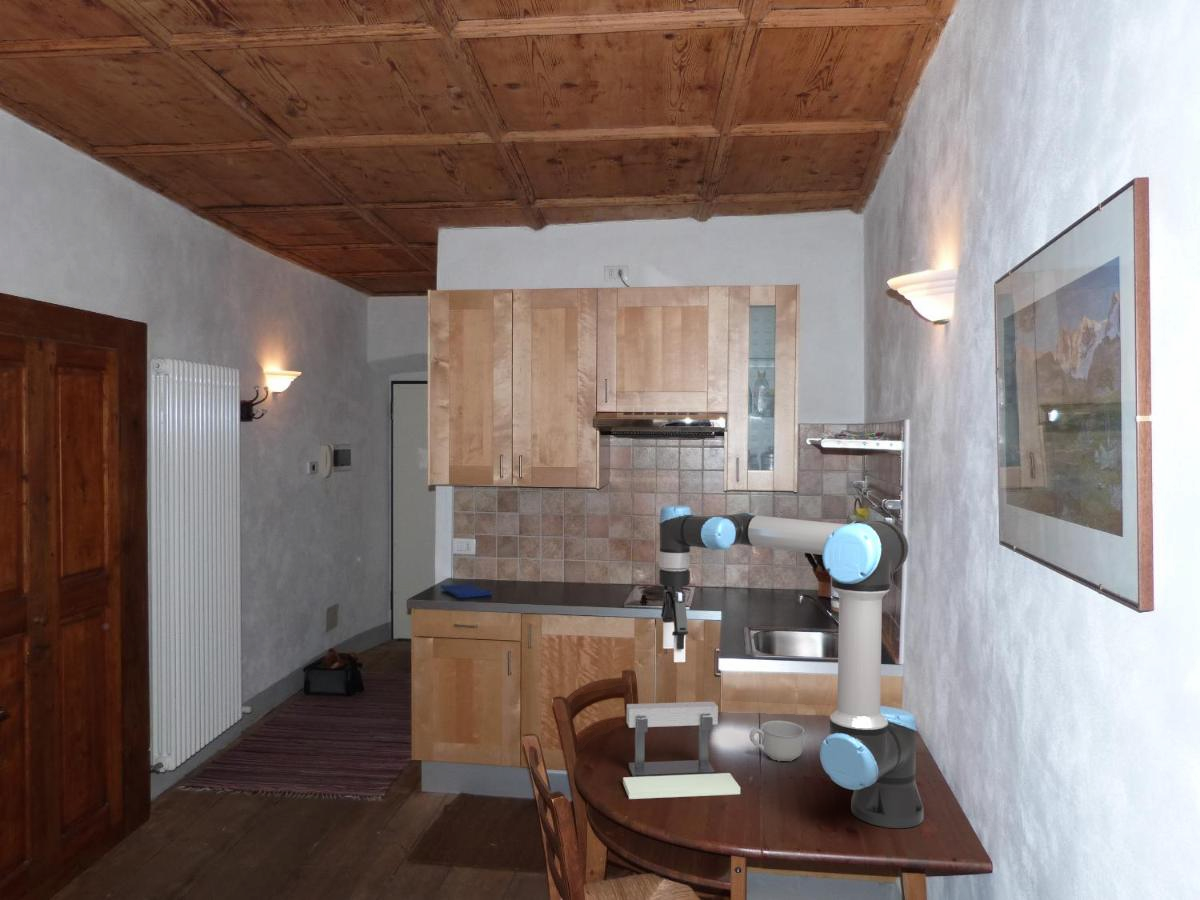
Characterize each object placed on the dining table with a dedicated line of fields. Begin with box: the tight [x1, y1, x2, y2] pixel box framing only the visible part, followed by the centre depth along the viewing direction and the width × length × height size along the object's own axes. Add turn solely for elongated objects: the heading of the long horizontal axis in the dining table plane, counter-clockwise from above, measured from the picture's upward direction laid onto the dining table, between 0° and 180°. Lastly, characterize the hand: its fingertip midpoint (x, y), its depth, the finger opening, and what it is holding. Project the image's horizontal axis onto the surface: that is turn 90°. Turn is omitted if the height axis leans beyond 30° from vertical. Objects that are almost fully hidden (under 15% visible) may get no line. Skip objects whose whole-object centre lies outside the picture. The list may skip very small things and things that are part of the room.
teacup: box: [749, 720, 805, 762], centre depth 228 cm, size 14×11×8 cm
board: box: [622, 772, 741, 800], centre depth 207 cm, size 9×26×2 cm, turn 97°
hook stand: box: [628, 715, 717, 777], centre depth 218 cm, size 8×20×14 cm, turn 97°
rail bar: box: [626, 701, 719, 729], centre depth 218 cm, size 4×22×4 cm, turn 97°
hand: (673, 654), depth 218 cm, fingers open, 13 cm apart
